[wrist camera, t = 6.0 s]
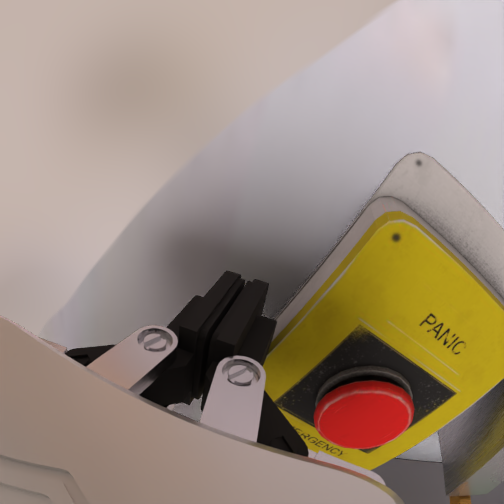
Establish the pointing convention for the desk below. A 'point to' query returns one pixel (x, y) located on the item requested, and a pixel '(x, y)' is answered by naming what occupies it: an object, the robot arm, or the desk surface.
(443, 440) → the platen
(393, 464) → the frame
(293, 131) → the desk surface
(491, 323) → the emergency button
